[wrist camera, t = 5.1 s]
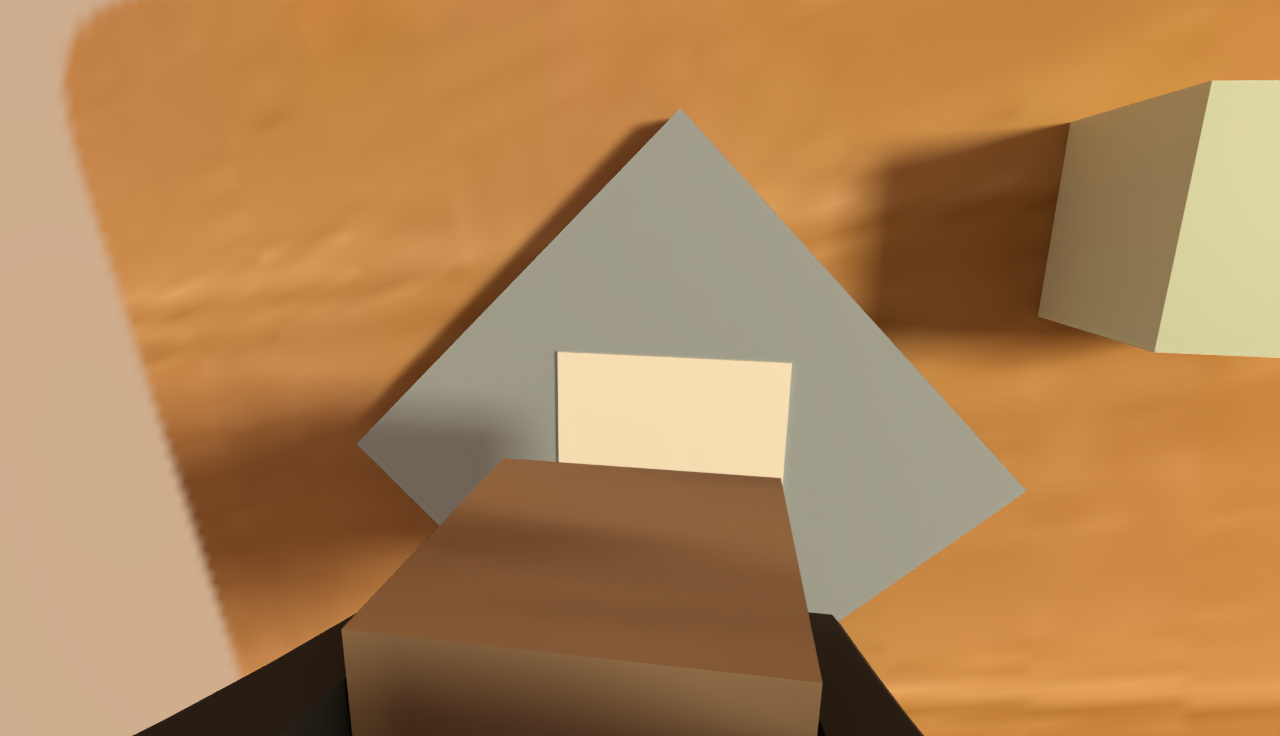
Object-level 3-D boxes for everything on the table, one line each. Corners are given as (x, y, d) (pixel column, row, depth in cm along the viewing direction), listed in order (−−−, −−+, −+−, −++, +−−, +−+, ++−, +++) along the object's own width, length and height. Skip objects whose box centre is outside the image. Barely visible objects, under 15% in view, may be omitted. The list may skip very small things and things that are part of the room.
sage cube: (1238, 323, 13) (1445, 365, 9) (1035, 315, 14) (1154, 352, 10) (1287, 123, 12) (1538, 78, 9) (1068, 123, 13) (1212, 80, 9)
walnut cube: (761, 721, 10) (784, 1055, 6) (510, 691, 10) (377, 978, 6) (781, 477, 9) (823, 683, 5) (503, 458, 9) (341, 629, 5)
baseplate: (663, 716, 17) (659, 748, 16) (378, 430, 17) (354, 445, 15) (1007, 473, 15) (1029, 493, 13) (683, 116, 14) (680, 107, 13)
